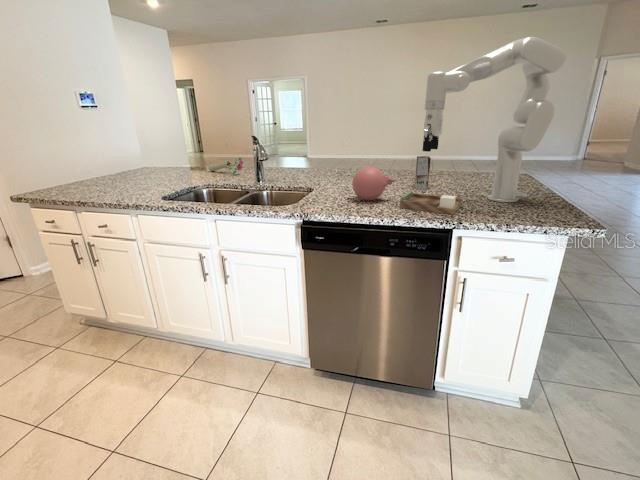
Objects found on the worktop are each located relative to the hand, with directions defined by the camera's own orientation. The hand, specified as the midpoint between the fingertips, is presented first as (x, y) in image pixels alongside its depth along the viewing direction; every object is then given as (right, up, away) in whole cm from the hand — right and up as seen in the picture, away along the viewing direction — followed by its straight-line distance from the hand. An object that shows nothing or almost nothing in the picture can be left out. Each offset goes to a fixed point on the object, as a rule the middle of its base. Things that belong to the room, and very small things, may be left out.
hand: (430, 150), depth 141 cm
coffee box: (+8, -9, +41) cm, 43 cm away
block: (+6, -24, -3) cm, 25 cm away
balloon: (-21, -19, +17) cm, 33 cm away
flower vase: (-111, +9, +98) cm, 148 cm away
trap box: (+1, -23, +4) cm, 24 cm away
